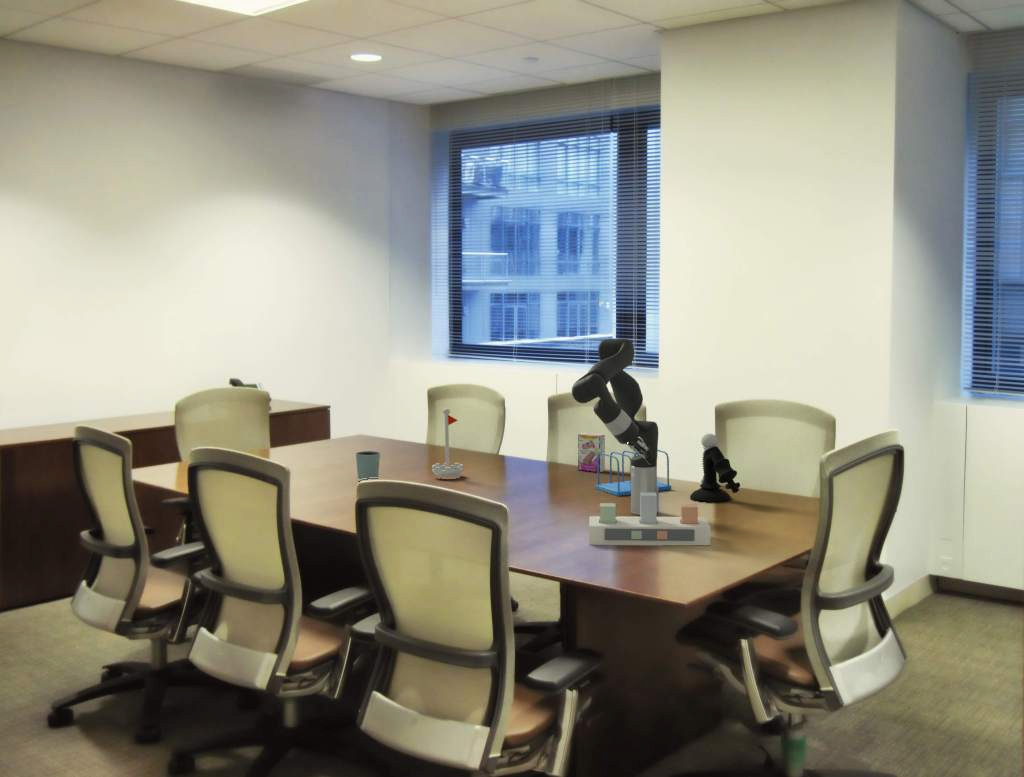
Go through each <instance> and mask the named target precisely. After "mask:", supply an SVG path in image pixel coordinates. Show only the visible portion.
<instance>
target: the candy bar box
mask: <svg viewBox="0 0 1024 777" xmlns="http://www.w3.org/2000/svg"><path fill="white" fill-rule="evenodd" d="M605 438H606V434H602V433H600V434H599V433H592V432H590V433H589V432H581V433H578V434H577V470H578V471H579V470H580V471H582V472H589V471H591V472H590V473H598V471H597V456H598V454H599V453H603V454H606V452H605V451H606V450H605V449H606V445H605V443H606V440H605ZM605 457H606V456H605V455H601V454H600V455H599V474H600V472H601V473H603V472H605V471H606V465H605V464H606V460H605V459H606V458H605Z"/></svg>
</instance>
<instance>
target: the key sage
mask: <svg viewBox="0 0 1024 777" xmlns="http://www.w3.org/2000/svg"><path fill="white" fill-rule="evenodd" d="M616 505H617V504H616V503H613V502H610V503H609V502H607V503H606V502H602V503H599V516H600V523H616V515H617V514H616V513H617V512H616V510H617V509H616V508H617V507H616Z"/></svg>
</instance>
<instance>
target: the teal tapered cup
mask: <svg viewBox="0 0 1024 777" xmlns="http://www.w3.org/2000/svg"><path fill="white" fill-rule="evenodd" d="M355 458H356V459H355V460H356V471H357V479H358V478H359V479H362V478H367V479H362V480H368V479H378V480H379V474H380V473H379V471H380V459H381V453H380V452H379V451H374V450H371V451H370V450H363V451H358V452H356V453H355ZM369 477H378V478H369ZM362 480H360V481H362Z"/></svg>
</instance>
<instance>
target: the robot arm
mask: <svg viewBox="0 0 1024 777" xmlns="http://www.w3.org/2000/svg"><path fill="white" fill-rule="evenodd" d="M597 351H598V352H597V354H598V359H599V361H598V362H596V363H595V364H593V365H592V366H591V368H589V370H588V372H587V373H585V374H583V376H581V377H580V378H579V379H577V380H576V381H575V382H574V383H573V385H572V388H571V394H572V397H573V399H574V400H575V401H576V402H578V403H579V404H587V403H589V402H591V401H593V400H595V399H597V398H599V400H598V401H596V402H595V404H594V406H593V413H595V416H597V417H598V418H599V420H601V422H602V423H603V425H604V426H605V428H606V429H607V430H608V431H609V433H610V434H611V435H612V436H613V437H614V438H615V439H616V441H617V442H618V443H619V444H621V445H626V446H627V447H628V448H630V450H632V452H636V454H638V455H636V456H634V455H633V456H632V457H631V474H630V481H631V494H630V512H631V514H633V515H637V516H640V492H646V493H656V495H657V513H659V510H660V509H659V508H660V506H659V504H660V502H659V501H660V499H659V496H660V495H659V494H660V492H659V487H658V486H657V481H658V452H659V451H658V450H659V449H658V447H659V446H658V444H659V426H658V424H657V422H655V421H650V420H649V421H648V420H647V421H646V420H637V419H636V418H635V416H636V415H637V413H638V412H639V411H640V409H641V407H642V404H643V402H644V401H643V399H644V397H643V393H642V390H641V387H640V384H639V383H638V381H637V380H636V379H635V378H634V377H633V376H632V375H630V374H629V373H627V372H626V371H625V370H624V369H626V368H627V367H630V366H631V365H632V363H633V361H634V358H635V345H634V343H633V342H632V341H631V340H630V339H628V338H605V339H602V340H601V341H600V342H599V344H598V347H597ZM608 383H610V384H609V385H610V386H611V389H612V393H613V396H612V394H611V393H610V390H609V388H608V386H607V385H608ZM613 397H614V398H613Z"/></svg>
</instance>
